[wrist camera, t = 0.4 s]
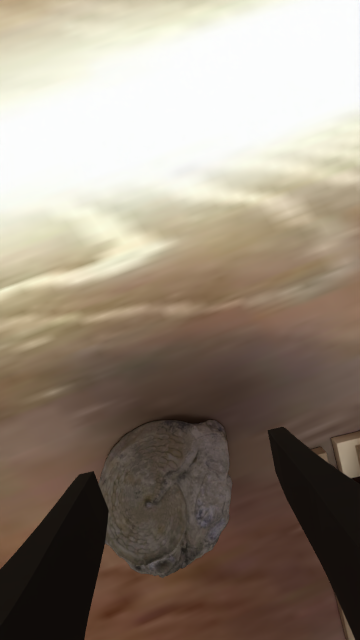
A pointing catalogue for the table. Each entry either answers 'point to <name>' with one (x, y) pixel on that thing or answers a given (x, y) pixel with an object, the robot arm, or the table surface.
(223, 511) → the grey rock
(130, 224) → the table surface
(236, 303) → the table surface
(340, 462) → the frame
